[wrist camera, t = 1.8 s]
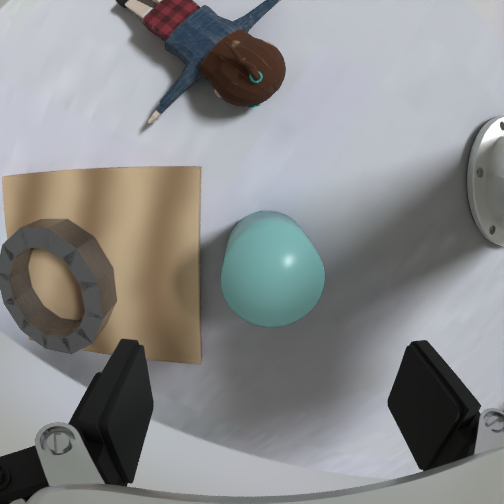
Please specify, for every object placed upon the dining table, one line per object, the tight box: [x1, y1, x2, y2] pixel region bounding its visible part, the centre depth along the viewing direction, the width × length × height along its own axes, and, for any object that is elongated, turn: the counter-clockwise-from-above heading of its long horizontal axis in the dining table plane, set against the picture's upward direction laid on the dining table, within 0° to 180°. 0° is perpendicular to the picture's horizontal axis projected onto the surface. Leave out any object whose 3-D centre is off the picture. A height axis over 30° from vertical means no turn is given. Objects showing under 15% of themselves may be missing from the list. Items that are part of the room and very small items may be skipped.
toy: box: [116, 0, 286, 124], centre depth 17 cm, size 14×5×15 cm
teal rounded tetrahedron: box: [221, 211, 325, 327], centre depth 21 cm, size 6×6×6 cm
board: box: [2, 166, 202, 364], centre depth 24 cm, size 18×16×1 cm
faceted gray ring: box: [0, 219, 117, 354], centre depth 22 cm, size 10×10×3 cm
